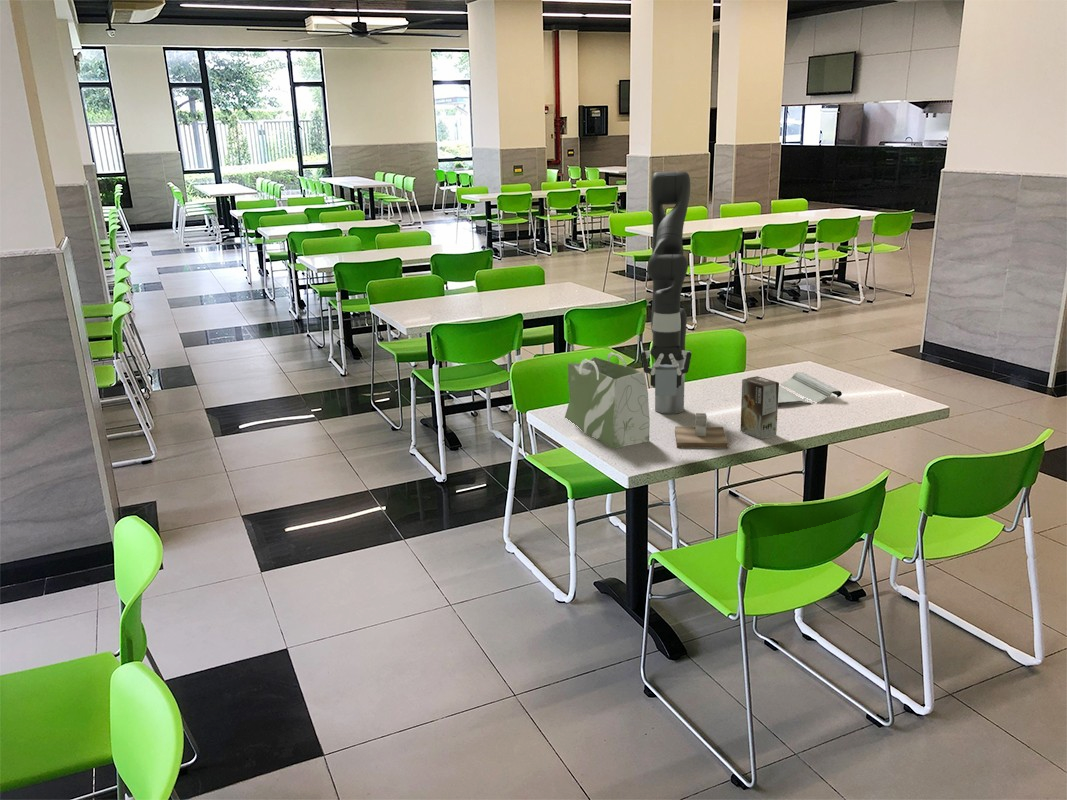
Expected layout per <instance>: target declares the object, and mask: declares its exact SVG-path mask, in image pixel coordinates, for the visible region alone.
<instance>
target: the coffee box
mask: <svg viewBox="0 0 1067 800" xmlns="http://www.w3.org/2000/svg"><path fill="white" fill-rule="evenodd" d="M779 384H780V382H778V381H775V380H772V379H768V378H765V377H762V376H758V375H757V376H751V377H747V378H744V379H742V380H741V403H740V405H741V407H740V429H739V430H740V432H741V431H742V432H741V433H744V432H745V433H744V434H746V433H747V435H749V434H750V435H749V436H752V437H755V438H758V439H759V440H764V439H768V438H772V437H776V436H777V433H778V432H777V428H778V409H779V404H778V393H779Z"/></svg>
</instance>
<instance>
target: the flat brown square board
mask: <svg viewBox="0 0 1067 800" xmlns="http://www.w3.org/2000/svg"><path fill="white" fill-rule="evenodd" d="M674 434H675V443H676V448H681V447H683V449H684V448H686V449H688V448H689V449H690V448H695V449H696V448H698V449H700V448H701V449H702V448H703V449H706V448H707V449H728V448H729V446H728V445H729V442H728V439H727V436H726V433H725V429H724V426H707V413H705V412H701V413H699V412H696V413H695V426H678V425H677V426H674Z"/></svg>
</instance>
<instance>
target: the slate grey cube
mask: <svg viewBox="0 0 1067 800" xmlns="http://www.w3.org/2000/svg"><path fill="white" fill-rule="evenodd" d="M676 389H677V368H676V369H675V368H674V366H673V365H659V367H658V368H655V388H654V395H655V396H676ZM655 396H654V397H655Z"/></svg>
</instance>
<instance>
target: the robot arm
mask: <svg viewBox="0 0 1067 800" xmlns="http://www.w3.org/2000/svg"><path fill="white" fill-rule="evenodd" d="M650 184H651V185H650V187H651V189H650V191H651V192H650V193H651V196H650V197H651V209H652V210H651V211H652V212H651V213H652V249H651V250H652V251H651V252H652V253H651V255H650V257H649V260H648V262H647V266H646V267H647V271H646V272H647V275H648V277H649V278H650V279H651V280H652V301H651V302H652V303H651V321H650V325H651V332H652V347H651V348H650V349H649V350H645V349H643V350H641V360H642V361H641V362H642V368H643V373H645V374H649V375H650V386H651V387H652V388H653V389H655V368H658V367H659V365H673V366H674V368H675V369H676V368H677V389H676V396H654V410H655V411H656V412H658V413H661V414H670V415H671V414H679V413H682V412H684V410H685V382H686V381H685V378H686V377H685V376H686V374H687V373H688V372H689V368H690V364H691V361H692V359H691V358H692V351H691V350H690V349H688V350H686V336H687V335H686V334H687V322H688V319H687V318H688V316H687V311H686V309H685V308H683V307H681V294H682V290H683V285H684V281H685V278H686V276H687V273H688V269H689V268H688V267H689V264H688V262H689V261H688V259H687V257H686V256H685V255H684V246H683V235H684V234H683V232H684V225H685V220H686V216H687V212H688V207H689V202H690V197H691V177H690V174H689V173H688V171H677V170H676V171H672V170H671V171H656V172H654V173H653V175H652V177H651V183H650ZM664 205H666V206H667V205H674V206H673V207H672V209H671V210H670V211H669V212H668V213H667V214H666V213H665V209H664ZM650 355H651V356H652V357H653V359H654V362H653V364H652V367H649V364H648V359H649V358H650Z"/></svg>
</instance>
